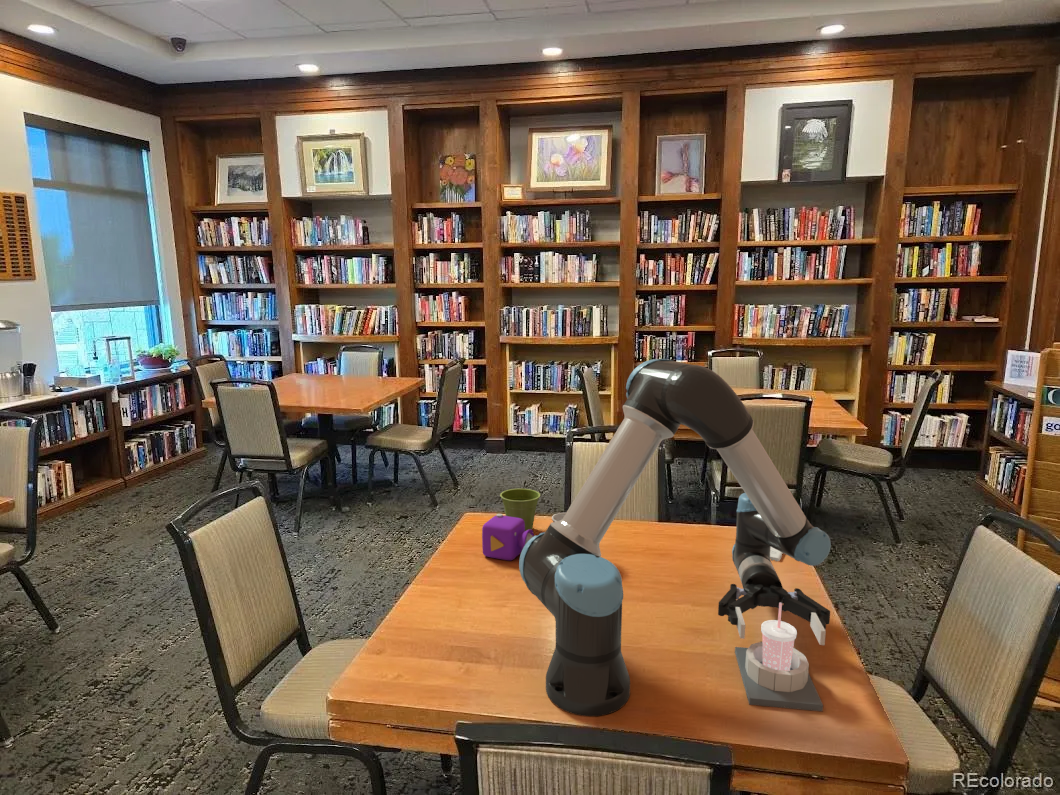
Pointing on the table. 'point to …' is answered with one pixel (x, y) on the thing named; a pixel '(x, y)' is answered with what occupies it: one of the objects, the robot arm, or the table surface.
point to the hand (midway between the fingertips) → (782, 635)
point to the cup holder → (777, 681)
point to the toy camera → (504, 537)
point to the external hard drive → (775, 554)
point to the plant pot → (521, 504)
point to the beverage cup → (778, 643)
